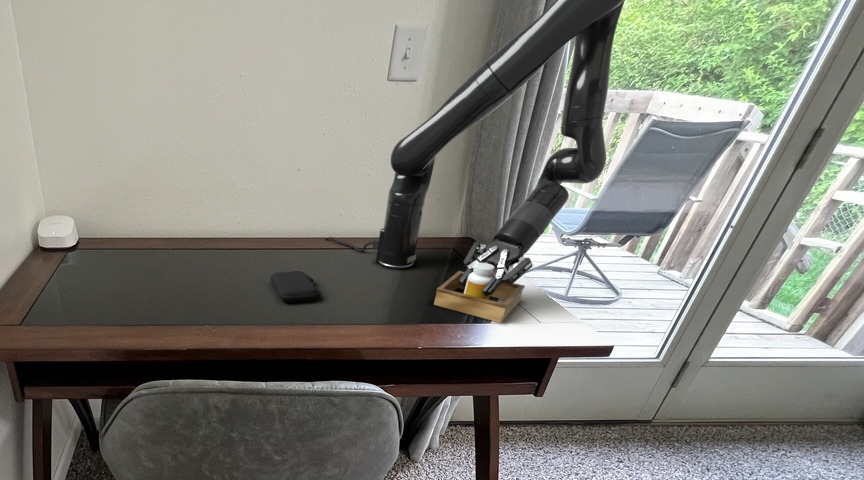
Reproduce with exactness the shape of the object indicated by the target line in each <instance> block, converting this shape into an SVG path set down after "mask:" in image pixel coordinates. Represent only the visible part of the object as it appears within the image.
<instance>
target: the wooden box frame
mask: <svg viewBox="0 0 864 480" xmlns="http://www.w3.org/2000/svg"><path fill="white" fill-rule="evenodd" d="M464 273H465V271H461V270H458V271H457V272H455V274H453V275H452V276H451V277H449V278H448V279H447V280H445V282H443V283H442V284H441V285H439V286H438V287H437V288H436V293H435V298H434V302H433V305H434V306H437V307H440V308H444V309H448V310H451V311H456V312H459V313H463V314H466V315H469V316H473V317H477V318H481V319H485V320H487V321H492V322H496V323H499V324H502V322H503V321H504V320H505V318H507V317H508V315H510V313H511V312H512V311H513V310H514V309H515V307H516V306H517V305H518V304H519V303H520V301H521V298H522V295H523V292H524V290H525V288H526V285H523V284H520V283H516V282H514V283H513V284H511V285H510V284H508V283H503V284H501V285H500V286H499V287H498V288H497V290H496V291H495V292H494V293H493V294H492V295H490V297H492V298H496V299H500V300H505V301H504V302H499V301H496V300H491V299H489V300H487V299H483V298H479V297H475V296H471V295H467V294H464V292H459V291H456V290H458V289H460V290H465V287H463V286H461V284H460V283H459V282H460V278H461V276H462V275H463V274H464Z"/></svg>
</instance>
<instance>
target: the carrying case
mask: <svg viewBox="0 0 864 480" xmlns="http://www.w3.org/2000/svg"><path fill="white" fill-rule="evenodd" d="M270 282H271V284H272V286H273V288H274V290H275V292H276V294H277V296H278V297H279V299H280V300H281V301H282V302H284V303H296V302H297V303H299V302H307V301H314V300H316V298H318V296H319V290H318V288H317V286H316V285H315V284H314V283H313V282H314V278H313V277H312V276H310V275H309V274H306V273H305V272H304V271H302V270H292V271H279V272H278V271H277V272H274V273H273V274H272V275H271V276H270Z"/></svg>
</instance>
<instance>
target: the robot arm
mask: <svg viewBox="0 0 864 480" xmlns="http://www.w3.org/2000/svg"><path fill="white" fill-rule="evenodd" d="M625 2H626V0H554V2H552V4H550V6H549V7H548V8H547V9H546V10H545V11H543V13H542V14H540V16H538V17H537V19H535V20H534V21H533V22H532V23H530V24H529V25H528V26H527V27H525V28H524V29H523V30H522V31H520V32H519V33H518V34H516V35H515V36H514V37H512V38H511V39H510V40H508V42H507V43H505V44H504V45H503V46H501V47H500V48H499V49H498V50H497V51H496V52H495V53H493V54H492V55H491V56H490V57H489V58H488V59H486V61H484V62H483V63H482V64H481V65H480V66H479V67H477V69H476V70H475V71H474V72H473V73H472V74H470V75H469V77H468V78H467V79H465V81H463V83H462V84H461V85H460V86H459V87H457V88H456V90H455V91H454V92H453V93H452V94H451V95H450V96H449V97H448V99H446V101H445V102H444V103H443V104H442V105H441V106H440V107H439V108H438V109H437V110H436V111H435V113H433V114H432V115H431V116H430V117H429V118H428V119H426V120H425V121H424V122H423V123H421V124H420V125H419V126H418V127H416V128H415V129H414V130H413V131H411V132H410V133H408V134H407V135H406V136H405V137H403V138H402V139H400V140H399V141H398V142H397V143H396V144H395V146H394V147H393V148H392V151H391V154H390V159H389V160H390V161H389V162H390V166H391V167H390V168H391V169H392V170H393V172H394V177H393V181H392V184H391V186H390V188H389V190H388V196H387V203H386V210H385V216H384V223H383V227H382V228H381V229H379V236H378V237H377V238H375V239H373V241H368V242H367V243H365V244H364V245H363V246H362V248H358V247H357V246H355V245H353V244H351V243H348V242H344V241H341V240H339V239H337V240H334V239H336V238H335V237H333V236H330V237H331V238H334V239H330V238H327V237H325V238H324V239H323V240H324V241H328V240H333V241H334V242H335V243H337V244H341V245H344V246H347V247H349V248H353V249H354V250H356V251H357V252H361V253H362V252H365V250H366V248H367V247H368V246H369V245H370V246H371V245H372V249H373V250H376V257H375V264H379V265H380V266H382V267H385V268H388V269H393V270H394V269H395V270H405V269H410V268H412V267H413V266H414V263H415V261H416V260H417V254H416V250H417V244H418V240H419V235H420V230H421V229H420V228H421V224H422V218H423V213H424V208H425V202H426V198H427V194H428V192H429V187H430V186H431V180H432V176H433V171H434V166H435V162H436V156H437V155H438V154H439V153H440V152H441V151H443V149H444V148H445V147H446V146H447V145H448V144H450V143H451V142H452V141H453V140H454V139H456V138H457V137H458V136H460V135H461V134H463V133H464V132H465V131H467V130H469V129H470V128H472V127H473V126H475V125H476V124H477V123H479V122H481V120H483V119H485V118H486V117H488V116H489V115H491V114H492V113H493V112H494V111H495V110H496V109H498V108H499V107H500V106H502V104H504V103H505V102H506V101H508V100H509V99H510V98H511V97H512V96H513V95H514V94H515V93H517V92H518V91H519V90H520V89H521V88H523V86H525V84H526V83H528V81H530V80H531V79H532V78H533V77H534V76H535V75H536V74H537V73H538V72H539V71H540V70H541V68H542V67H543V66H544V65H546V64H547V62H548V61H549V60H551V58H552V57H553V56H554V55H556V54H557V52H558V51H559V50H560V49H561V48H562V47H564V45H566V44H568V43H569V42H570V41H572V40H573V39H574V49H573V56H572V62H571V67H570V71H569V76H568V81H567V86H566V90H565V96H564V100H563V101H564V102H563V107H562V117H561V123H560V134H561V135H562V136H564V137H566V138H570V139H572V140H573V141H575V144H576V147H564V148H561V149H558V150H557V151H555V152H554V153H553V154H551V156H549V158H548V159H547V160H546V163H545V164H544V167H543V169H542V172H541V174H540V176H539V178H538V180H537V182H536V185H535V187H534V188H533V190H532V191H531V192H530V193H529V195H528V196H527V197H526V198H525V199H524V201H523V202H522V203H521V204H520V205H519V206H518V207H517V208H516V209H515V210H514V211H513V213H511V215H510V216H509V217H508V219H507V220H505V222H504V224H502V226H501V227H500V229H498V231H497V232H496V233H495V235H494V237H493V239H492V240H491V241H490V242H488V243H486V244H482V243H480V241H475V242H473V244H472V246H471V247H470V249H469V251H468V253H467V254H466V256H465V258H464V260H463V264H464V265H465V267H466V270H465V271H464V272H465V273H464V274H463V275H462V276H461V278H460V282H459V283H460V284H461V286H463V287H465V286H466V283H467V279H468V276H469V274H470V273H472V272H474V271H473V269H474V265H475V264H476V263H488V264H491V265H493V266H494V268H496V269H497V270H496V274H495V277H494V278H492V280H491V281H490V282H489V283H488V285H487V286H486V287H485V288H484V289H483V291H482V292H483V294H484V295H485V296H487V297H488V296H489V295H492V294H493V293H494V292H495V291H496V290H497V288H498V287H499V286H500V285H501V284H503V283H508V284H510V285H511V284H513V283H516V282H517V281H518V280H519V279H520V278H521V277H523V276H524V275H525V274H526V273H527V272H529V270H530V269H532V268H533V266H534V264H533V261H532V260H531V258H530V257H525V256H524V255H525V254H527V253H528V251H529V250H530V249H532V247H533V246H534V245H535V243H536V242H537V241H538V239H539V238H540V237H541V236H542V235H543V234H544V233H545V231H546V230H547V229H548V227H549V225H550V224H551V222H552V221H553V220H554V218H555V217H556V216H557V214H558V213H559V212H560V211H561V210H562V208H563V207H564V206H565V205H566V203H567V202H568V200H569V196H570V193H569V191H568V190H567V188H566V187H564V185H562V184H564V183H566V184H567V183H569V184H581V185H583V184H590V183H592V182H594V181H596V180H597V179H598V178H599V177H600V175H601V174H602V173H603V171H604V169H605V166H606V163H607V150H606V143H605V142H606V141H605V135H604V126H603V121H604V115H605V110H606V104H607V98H608V97H607V96H608V92H609V91H608V90H609V81H610V71H611V59H612V52H613V45H614V38H615V34H616V30H617V27H618V22H619V19H620V16H621V13H622V10H623V7H624V4H625ZM516 264H517V265H516ZM514 265H515V266H514ZM511 266H514V267H513V268H512V269H511V270H510V268H511Z"/></svg>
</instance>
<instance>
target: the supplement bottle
mask: <svg viewBox="0 0 864 480" xmlns="http://www.w3.org/2000/svg"><path fill="white" fill-rule="evenodd" d="M473 271H474V272H472V273H470V274H469V276H468V279H467V283H466V286H465V290H464V291H463V294H467V295H471V296H475V297H479V298H483V299H487V300H490V297H491V296H490V295H489V296H488V297H487V296H485V295H484V294H483V292H482V291H483V289H484V288H485V287H486V286H487V285H488V283H489V282H490V281H491V280H492V278H495V276H494V275H493V274H494V271H495V267H494V266H493V265H491V264H488V263H476V264H475V265H474V269H473Z"/></svg>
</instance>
